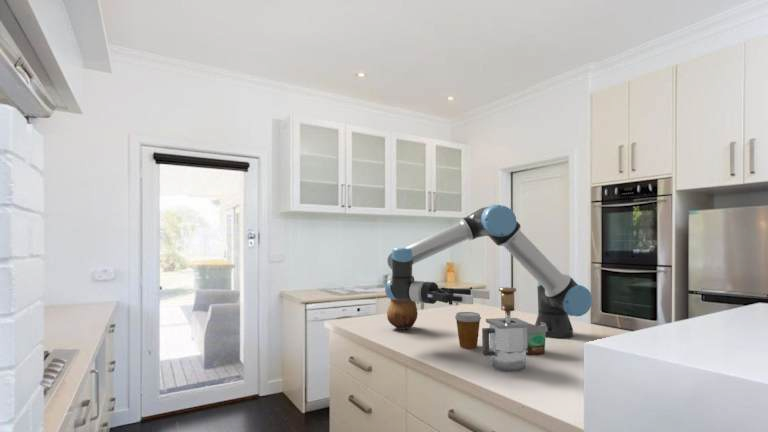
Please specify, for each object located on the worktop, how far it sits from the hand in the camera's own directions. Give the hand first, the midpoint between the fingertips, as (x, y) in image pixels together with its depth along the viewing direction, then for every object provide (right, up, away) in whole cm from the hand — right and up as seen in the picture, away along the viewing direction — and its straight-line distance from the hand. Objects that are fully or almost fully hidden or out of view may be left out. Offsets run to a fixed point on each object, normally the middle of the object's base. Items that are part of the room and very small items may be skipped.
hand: (481, 297), depth 137 cm
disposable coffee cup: (-1, -22, +18) cm, 28 cm away
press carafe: (+6, -20, -6) cm, 22 cm away
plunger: (+7, -14, -6) cm, 16 cm away
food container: (+21, -21, +8) cm, 31 cm away
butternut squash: (-23, -23, +48) cm, 58 cm away
